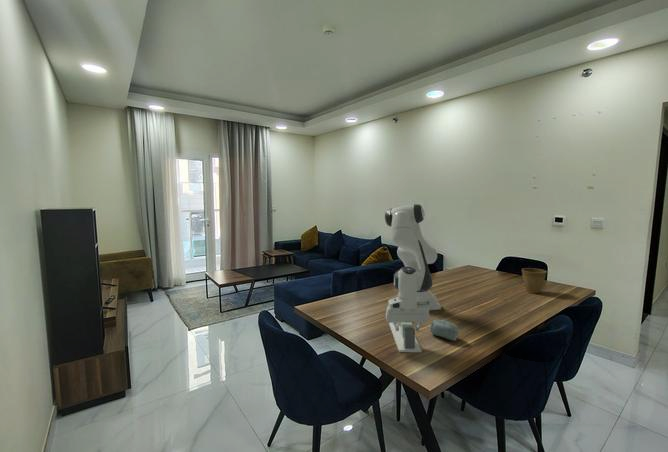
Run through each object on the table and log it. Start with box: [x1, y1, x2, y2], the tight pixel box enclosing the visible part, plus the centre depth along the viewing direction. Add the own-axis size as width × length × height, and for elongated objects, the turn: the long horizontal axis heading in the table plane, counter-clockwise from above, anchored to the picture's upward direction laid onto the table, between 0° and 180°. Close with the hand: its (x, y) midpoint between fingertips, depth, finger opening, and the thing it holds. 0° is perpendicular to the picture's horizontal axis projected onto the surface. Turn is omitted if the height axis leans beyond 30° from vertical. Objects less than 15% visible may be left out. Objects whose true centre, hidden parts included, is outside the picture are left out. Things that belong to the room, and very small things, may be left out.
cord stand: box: [388, 322, 422, 353], centre depth 156 cm, size 10×30×10 cm, turn 179°
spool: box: [430, 319, 460, 342], centre depth 155 cm, size 14×10×10 cm
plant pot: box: [521, 267, 547, 294], centre depth 224 cm, size 15×15×16 cm
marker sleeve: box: [401, 322, 415, 338], centre depth 148 cm, size 5×5×5 cm
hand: (407, 330), depth 148 cm, fingers open, 8 cm apart
